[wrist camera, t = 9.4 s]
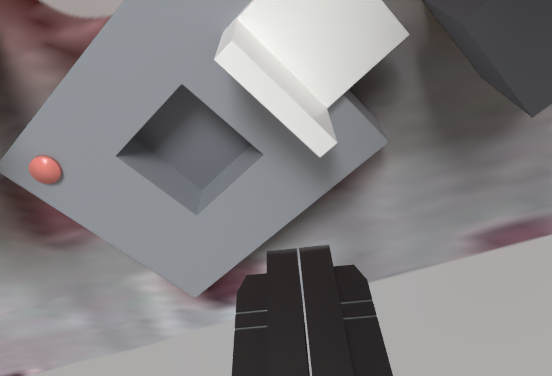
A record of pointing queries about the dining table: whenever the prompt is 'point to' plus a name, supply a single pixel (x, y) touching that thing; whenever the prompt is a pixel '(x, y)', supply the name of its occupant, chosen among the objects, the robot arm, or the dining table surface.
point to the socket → (177, 145)
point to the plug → (504, 44)
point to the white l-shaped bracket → (307, 57)
